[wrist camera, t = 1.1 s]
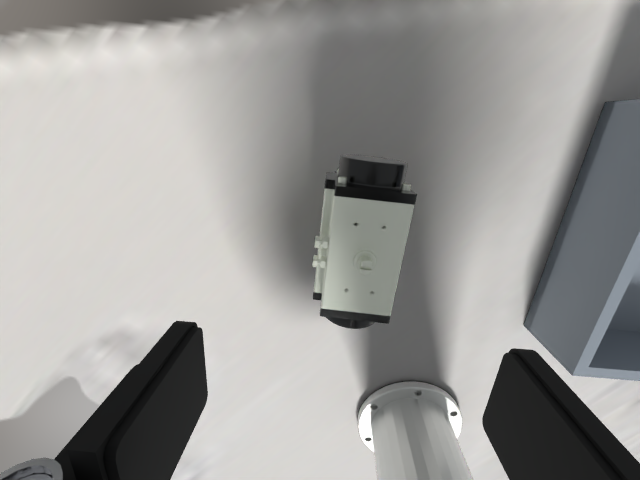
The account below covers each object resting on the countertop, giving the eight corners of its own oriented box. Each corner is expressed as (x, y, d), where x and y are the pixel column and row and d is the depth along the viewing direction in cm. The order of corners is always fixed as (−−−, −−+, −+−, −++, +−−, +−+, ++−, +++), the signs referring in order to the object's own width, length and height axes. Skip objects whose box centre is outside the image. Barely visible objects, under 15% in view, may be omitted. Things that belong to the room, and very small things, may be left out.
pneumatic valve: (388, 153, 27) (429, 171, 15) (367, 270, 31) (388, 352, 19) (327, 146, 27) (322, 159, 15) (314, 265, 31) (304, 343, 20)
